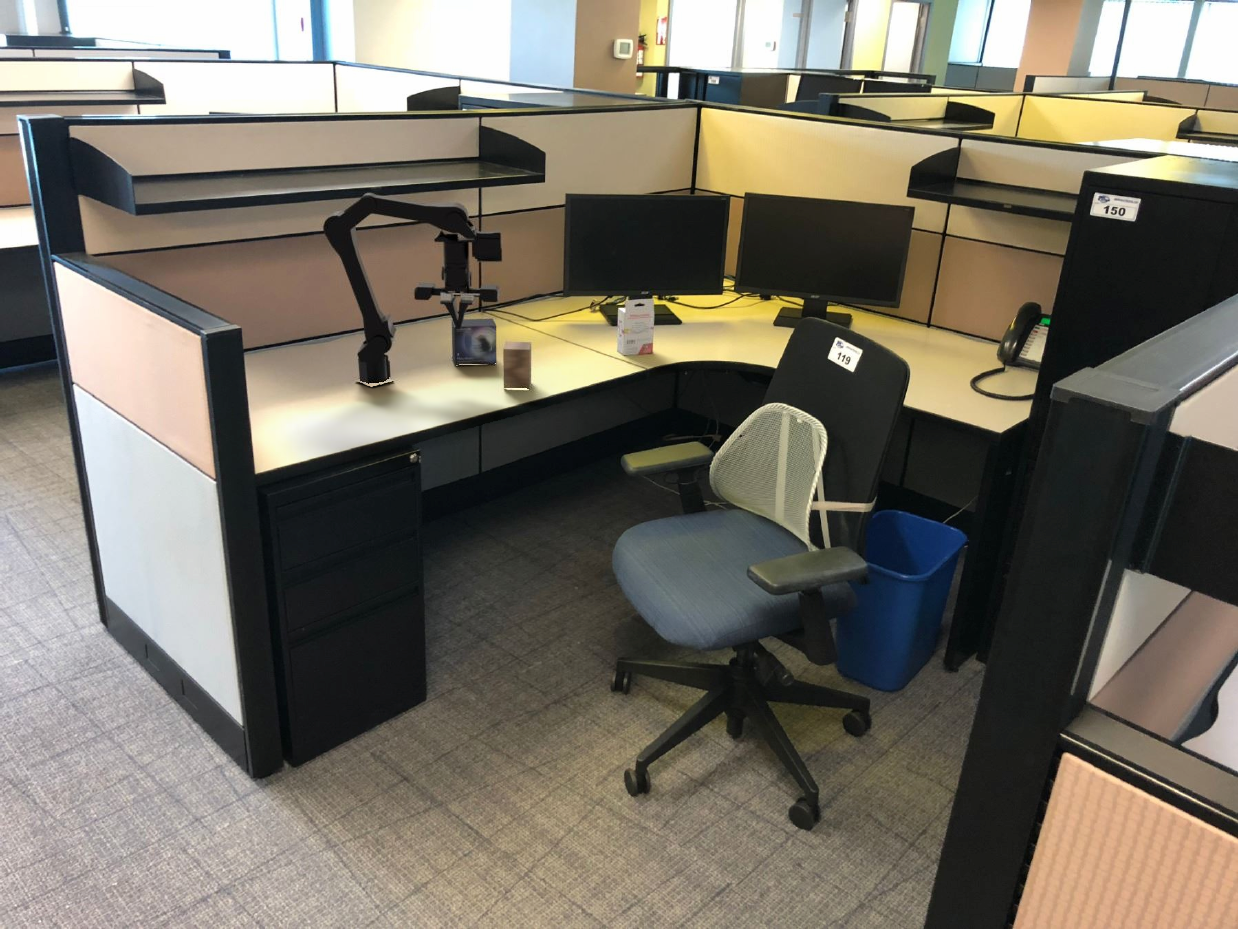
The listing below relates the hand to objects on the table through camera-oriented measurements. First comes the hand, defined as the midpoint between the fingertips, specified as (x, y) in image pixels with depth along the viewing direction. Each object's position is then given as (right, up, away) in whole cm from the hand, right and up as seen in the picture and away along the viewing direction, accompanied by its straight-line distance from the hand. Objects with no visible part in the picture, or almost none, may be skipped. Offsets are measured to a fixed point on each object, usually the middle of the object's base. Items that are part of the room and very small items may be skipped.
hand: (458, 328), depth 222 cm
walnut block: (+13, -13, +4) cm, 19 cm away
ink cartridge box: (+41, -2, +33) cm, 53 cm away
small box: (+1, -6, +20) cm, 21 cm away
